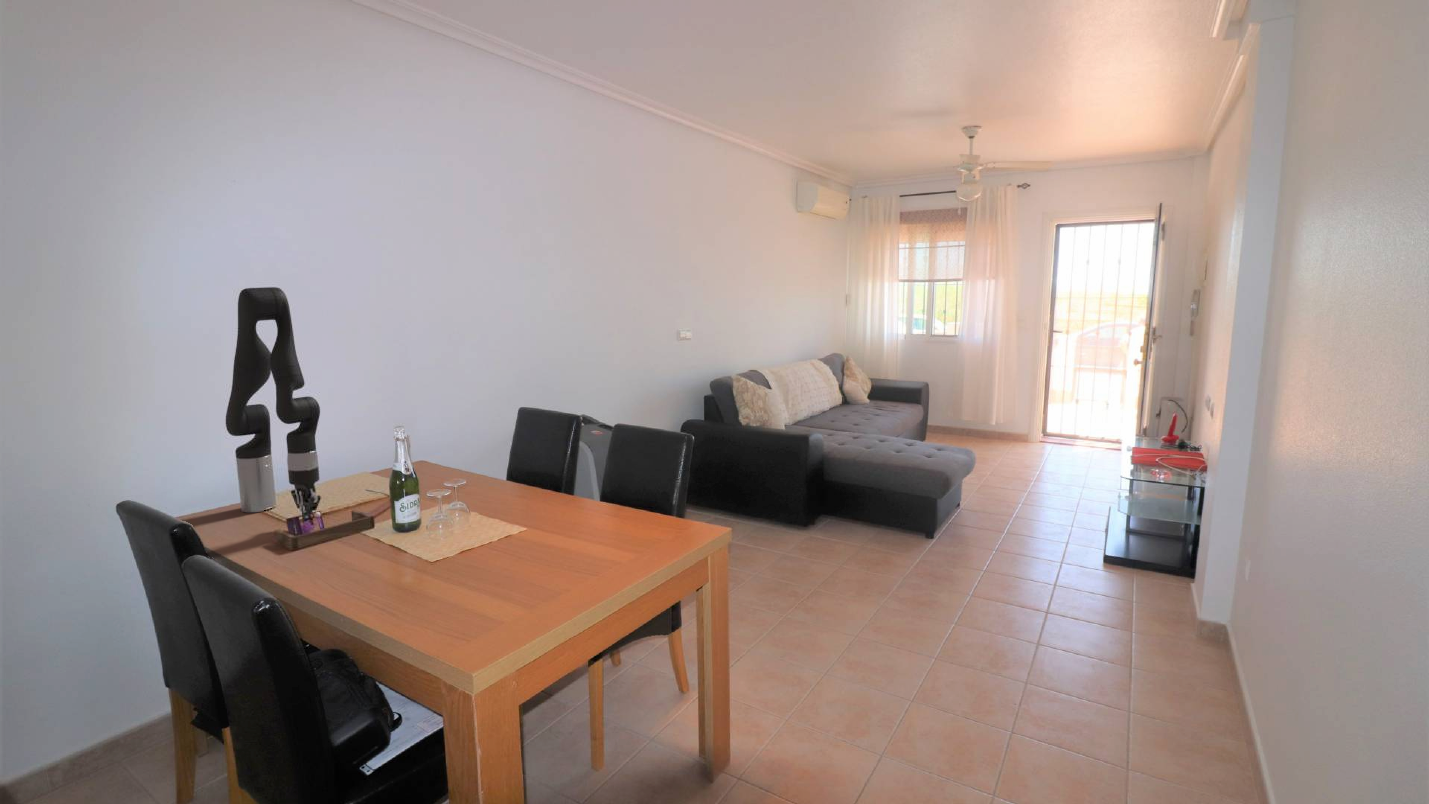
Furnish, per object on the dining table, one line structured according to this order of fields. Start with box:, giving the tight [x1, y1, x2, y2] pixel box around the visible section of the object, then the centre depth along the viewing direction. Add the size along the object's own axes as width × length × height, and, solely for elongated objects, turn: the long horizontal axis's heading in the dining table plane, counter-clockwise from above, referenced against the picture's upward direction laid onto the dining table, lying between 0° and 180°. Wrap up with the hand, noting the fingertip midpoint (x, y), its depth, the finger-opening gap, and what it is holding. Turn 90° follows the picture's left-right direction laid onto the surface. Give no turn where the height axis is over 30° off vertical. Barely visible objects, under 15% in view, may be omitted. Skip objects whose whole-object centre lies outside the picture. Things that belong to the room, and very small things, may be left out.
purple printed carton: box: [285, 510, 325, 536], centre depth 188 cm, size 7×5×9 cm
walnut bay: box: [274, 509, 376, 551], centre depth 189 cm, size 10×22×4 cm, turn 146°
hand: (308, 523), depth 195 cm, fingers closed
